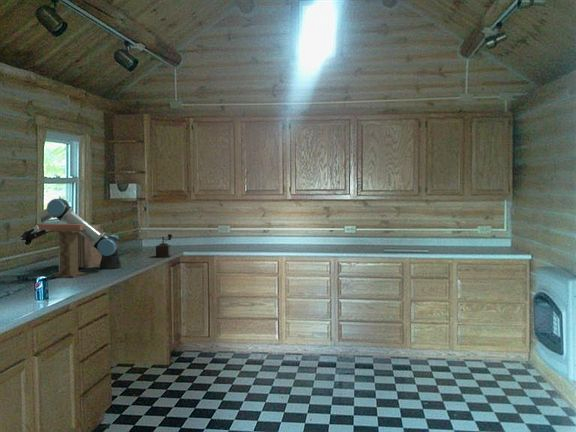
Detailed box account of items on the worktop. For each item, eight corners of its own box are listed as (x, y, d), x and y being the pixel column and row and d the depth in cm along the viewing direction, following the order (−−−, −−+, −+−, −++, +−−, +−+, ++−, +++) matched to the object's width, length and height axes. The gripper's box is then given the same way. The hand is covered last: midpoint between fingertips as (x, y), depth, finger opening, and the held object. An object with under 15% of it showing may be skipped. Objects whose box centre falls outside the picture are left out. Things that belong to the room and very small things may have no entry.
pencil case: (36, 229, 379) (36, 224, 379) (40, 229, 383) (40, 223, 383) (80, 230, 375) (79, 224, 375) (83, 229, 380) (83, 224, 380)
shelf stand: (51, 276, 376) (50, 230, 374) (65, 273, 388) (64, 228, 386) (73, 278, 370) (72, 231, 368) (86, 274, 383) (85, 229, 381)
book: (84, 268, 410) (84, 226, 408) (73, 268, 412) (72, 226, 410) (104, 263, 434) (103, 223, 433) (92, 263, 437) (92, 223, 435)
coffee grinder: (169, 257, 470) (168, 235, 469) (155, 257, 470) (155, 235, 469) (173, 255, 485) (173, 233, 484) (160, 255, 486) (159, 233, 484)
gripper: (39, 244, 400) (60, 229, 394) (11, 248, 377) (34, 232, 370) (34, 234, 401) (55, 220, 395) (6, 238, 377) (29, 222, 371)
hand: (45, 226), depth 382 cm, fingers open, 13 cm apart
